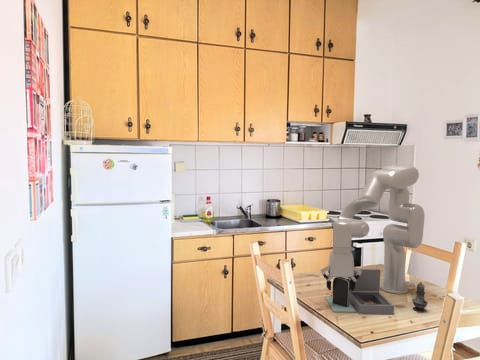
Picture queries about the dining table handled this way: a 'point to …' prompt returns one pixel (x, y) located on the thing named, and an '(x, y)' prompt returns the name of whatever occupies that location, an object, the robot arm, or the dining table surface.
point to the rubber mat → (340, 307)
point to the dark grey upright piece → (420, 299)
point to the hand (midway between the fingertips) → (340, 289)
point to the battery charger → (341, 291)
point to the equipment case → (369, 294)
